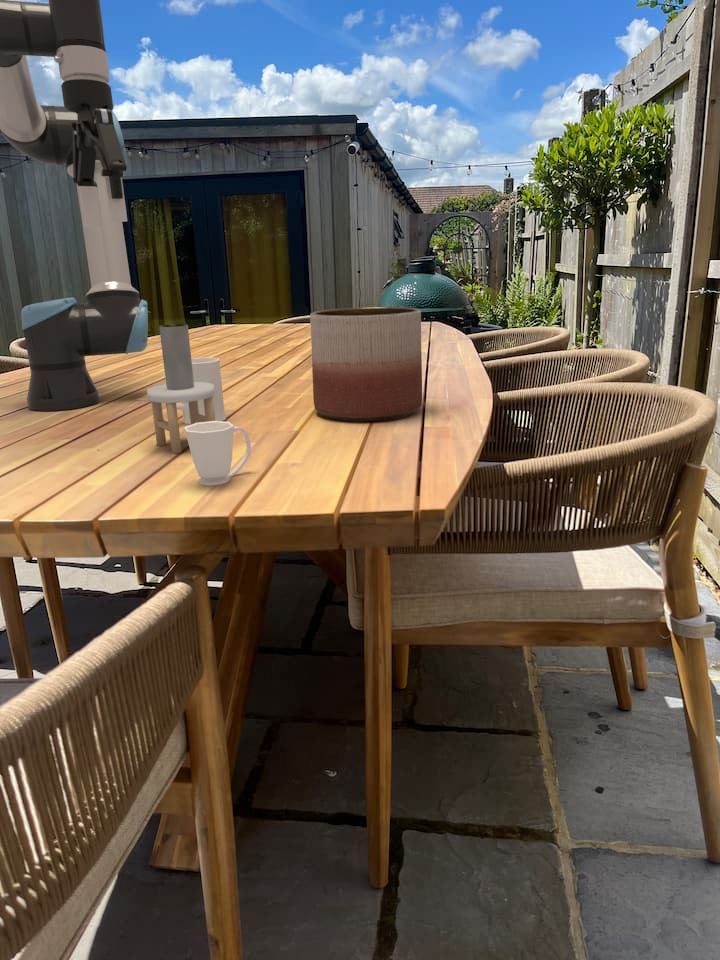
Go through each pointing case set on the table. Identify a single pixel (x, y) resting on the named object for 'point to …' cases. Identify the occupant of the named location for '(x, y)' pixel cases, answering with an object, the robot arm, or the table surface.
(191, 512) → the table surface
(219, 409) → the white ceramic jug
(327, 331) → the planter
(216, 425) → the cup
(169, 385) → the grey tube
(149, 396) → the stool
